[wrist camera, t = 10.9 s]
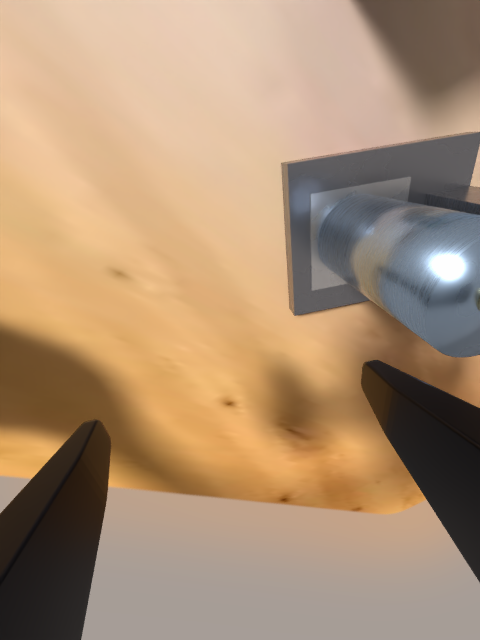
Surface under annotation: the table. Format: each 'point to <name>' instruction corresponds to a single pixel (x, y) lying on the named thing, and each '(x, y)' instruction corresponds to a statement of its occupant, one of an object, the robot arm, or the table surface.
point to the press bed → (375, 179)
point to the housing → (410, 265)
